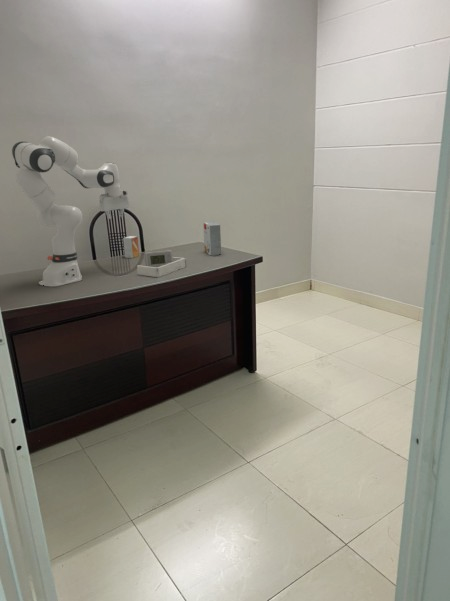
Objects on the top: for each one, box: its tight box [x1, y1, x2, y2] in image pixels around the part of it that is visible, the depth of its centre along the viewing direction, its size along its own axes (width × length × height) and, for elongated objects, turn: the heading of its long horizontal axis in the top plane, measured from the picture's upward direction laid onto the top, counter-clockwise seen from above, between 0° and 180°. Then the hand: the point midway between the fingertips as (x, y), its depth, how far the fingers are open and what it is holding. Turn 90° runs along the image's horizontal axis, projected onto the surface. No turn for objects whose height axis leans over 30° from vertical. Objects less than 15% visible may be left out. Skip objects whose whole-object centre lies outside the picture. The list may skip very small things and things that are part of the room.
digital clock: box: [143, 249, 174, 267], centre depth 241 cm, size 16×9×11 cm, turn 97°
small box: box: [122, 235, 140, 259], centre depth 277 cm, size 8×6×13 cm
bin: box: [136, 256, 187, 278], centre depth 240 cm, size 26×14×5 cm, turn 150°
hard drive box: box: [202, 221, 222, 256], centre depth 280 cm, size 16×8×20 cm, turn 17°
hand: (115, 217), depth 242 cm, fingers open, 8 cm apart
